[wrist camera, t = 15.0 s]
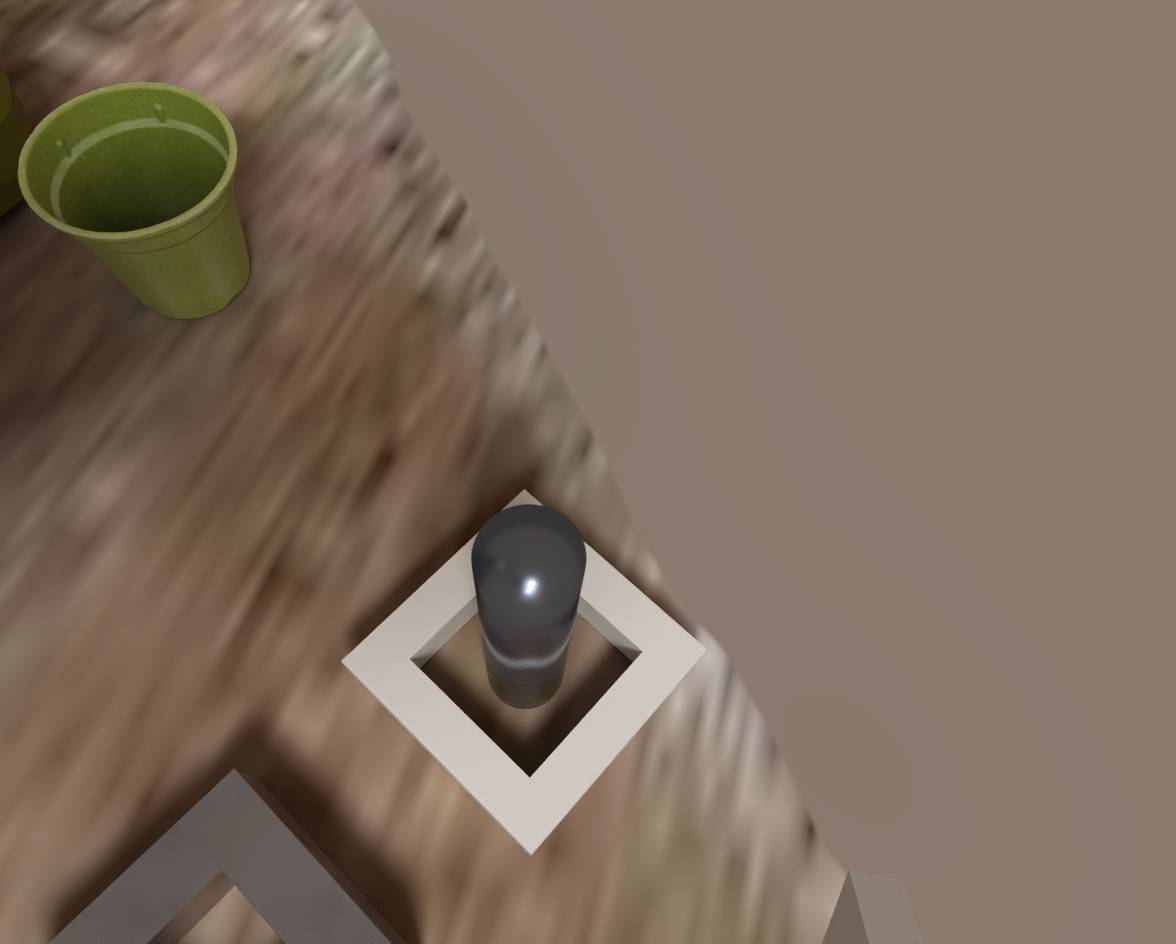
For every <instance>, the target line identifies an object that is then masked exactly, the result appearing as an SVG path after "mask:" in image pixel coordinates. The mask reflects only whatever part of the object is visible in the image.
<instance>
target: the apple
mask: <svg viewBox="0 0 1176 944" xmlns="http://www.w3.org/2000/svg"><path fill="white" fill-rule="evenodd" d="M31 134H32V131H31V123H30V120H29V118H28V116H27V114H26V112H25V110H24V108H23V106H22V104H21V102H20V100H19V98H18V96H17V94H16V92H15V90H14V88H13V86H12V84H11V82H10V80H9V79H8V77H7V76H6V74H5V73H4V71H3V70H2V68H1V66H0V217H1V216H2V215H4V214H5V213H6V212H7V211H9V210H10V209H11V208H12V207H14V206H15V205H16V204H17V203H19V202H20V201H21V200H22V199H23V197H24V196H23V194H22V191H21V189H20V185H19V180H18V164H19V158H20V154H21V151H22V149H23V146H24V145H25V143H26V141H27V139H28V138H29V137H30V135H31Z"/></svg>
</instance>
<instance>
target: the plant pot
mask: <svg viewBox="0 0 1176 944" xmlns="http://www.w3.org/2000/svg"><path fill="white" fill-rule="evenodd" d="M237 163H238V144H237V140H236V136H235V133H234V130H233V128H232V125H231V124H230V122H229V120H228V119H227V117H226V116H225V115H224V113H223V112H222V111H221V110H220V109H219V108H218V107H217V106H216V105H214V104H213V103H212V102H211V101H209V100H208V99H206V98H205V97H203V96H201V95H199V94H198V93H195V92H193V91H191V90H188V89H185V88H182V87H178V86H175V85H170V84H164V83H156V82H131V83H123V84H116V85H112V86H106V87H102V88H99V89H96V90H92V91H91V92H88V93H85V94H83V95H80V96H78V97H75V98H73V99H71V100H70V101H68V102H66V103H64V104H63V105H61V106H59V107H58V108H57V109H55V110H54V111H53V112H51V113H50V114H49V115H47V116H46V117H45V118H44V119H43V120H42V121H41V122H40V123H39V124H38V125H37V127H36V128H35V129H34V131H33V133H32V134H31V135H30V137H29V138H28V139H27V141H26V143H25V145H24V146H23V149H22V151H21V154H20V158H19V164H18V180H19V185H20V189H21V191H22V194H23V196H24V198H25V200H26V202H27V203H28V205H29V206H30V207H31V208H32V210H33V211H34V212H35V213H36V214H37V215H38V216H39V217H40V218H41V219H42V220H44V221H45V222H46V223H47V224H49V225H50V226H52V227H54V228H55V229H57V230H59V231H61V232H64V233H66V234H68V235H69V236H71V237H72V238H74V239H75V240H77V241H79V242H81V243H83V244H84V245H85V246H86V247H87V248H88V249H89V250H90V251H91V252H92V253H93V254H94V255H95V256H96V257H97V258H98V259H99V260H100V261H101V262H102V263H103V264H104V265H105V266H106V267H107V268H108V269H109V270H110V271H111V272H112V273H113V274H114V275H115V276H116V277H117V278H118V279H119V280H120V281H121V282H122V283H123V284H124V285H125V286H126V287H127V288H128V289H129V290H130V291H131V292H132V293H133V294H134V295H135V296H136V297H137V298H138V299H139V300H140V302H141V303H143V304H144V305H145V306H147V307H148V308H150V309H152V310H153V311H155V312H157V313H159V314H161V315H163V316H166V317H170V318H175V319H194V318H200V317H204V316H207V315H211V314H213V313H215V312H218V311H220V310H221V309H223V308H224V307H225V306H226V305H227V304H228V303H229V302H230V300H231V299H232V298H233V297H234V296H235V295H236V294H237V293H239V292H240V291H241V290H243V289H244V288H245V286H246V284H247V281H248V279H249V275H250V260H249V256H248V251H247V246H246V242H245V237H244V233H243V228H242V224H241V219H240V214H239V209H238V205H237V200H236V195H235V189H234V184H235V171H236V168H237Z"/></svg>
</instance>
